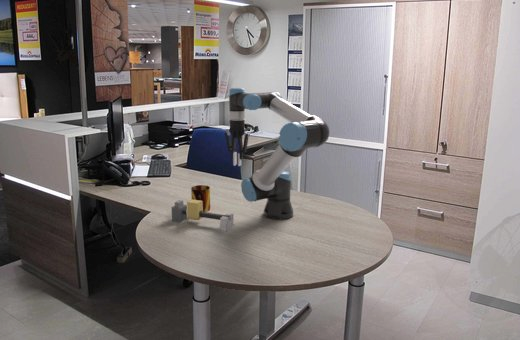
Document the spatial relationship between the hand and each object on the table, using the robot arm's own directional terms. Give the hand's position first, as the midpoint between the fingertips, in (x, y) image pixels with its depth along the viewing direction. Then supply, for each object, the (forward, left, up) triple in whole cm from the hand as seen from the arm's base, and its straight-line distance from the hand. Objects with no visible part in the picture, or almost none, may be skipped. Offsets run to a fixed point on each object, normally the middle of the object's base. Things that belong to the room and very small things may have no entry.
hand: (237, 165), depth 230 cm
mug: (+17, +7, -25) cm, 31 cm away
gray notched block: (-5, +24, -24) cm, 35 cm away
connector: (+21, +24, -24) cm, 40 cm away
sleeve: (+12, +24, -22) cm, 35 cm away
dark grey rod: (+8, +24, -22) cm, 33 cm away
